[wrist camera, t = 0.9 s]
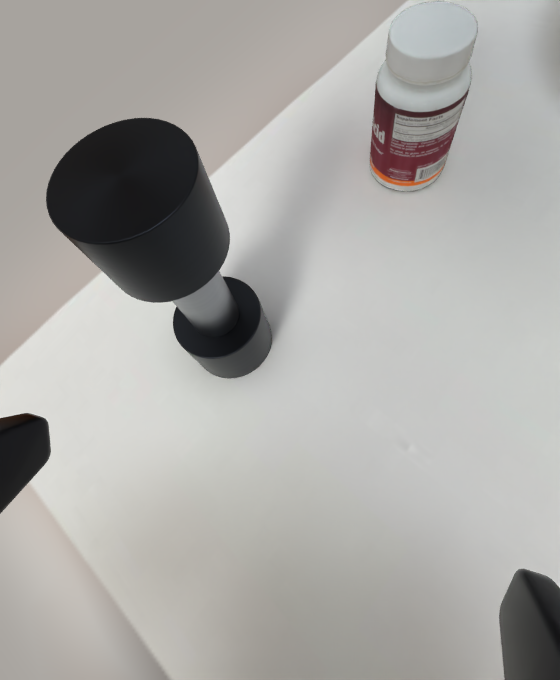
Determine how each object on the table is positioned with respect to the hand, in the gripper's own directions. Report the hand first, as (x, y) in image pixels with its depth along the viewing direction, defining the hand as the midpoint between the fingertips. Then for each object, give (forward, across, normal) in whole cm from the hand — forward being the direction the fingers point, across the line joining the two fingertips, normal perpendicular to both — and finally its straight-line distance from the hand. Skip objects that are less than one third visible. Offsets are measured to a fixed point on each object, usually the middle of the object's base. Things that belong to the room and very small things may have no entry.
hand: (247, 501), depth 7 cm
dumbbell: (+15, +6, +3) cm, 16 cm away
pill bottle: (+24, -1, -8) cm, 26 cm away
